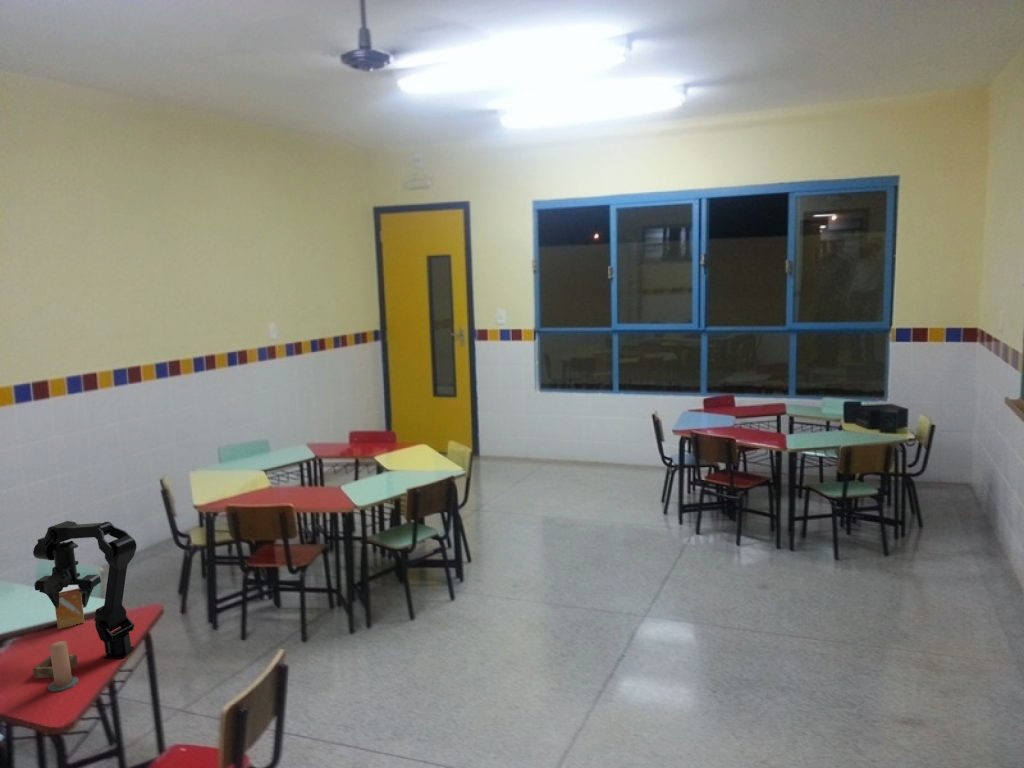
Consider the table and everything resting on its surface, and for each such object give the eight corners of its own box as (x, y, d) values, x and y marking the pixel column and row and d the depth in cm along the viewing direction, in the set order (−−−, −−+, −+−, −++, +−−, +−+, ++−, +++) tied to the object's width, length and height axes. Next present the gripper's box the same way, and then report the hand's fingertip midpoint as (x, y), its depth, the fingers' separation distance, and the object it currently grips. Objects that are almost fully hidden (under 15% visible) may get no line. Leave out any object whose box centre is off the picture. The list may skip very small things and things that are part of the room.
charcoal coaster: (83, 677, 225) (83, 676, 225) (68, 691, 217) (67, 690, 217) (59, 677, 225) (59, 676, 225) (42, 691, 218) (42, 690, 218)
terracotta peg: (72, 677, 224) (66, 639, 222) (72, 683, 220) (67, 645, 219) (54, 682, 222) (49, 643, 220) (54, 688, 218) (49, 649, 217)
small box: (58, 630, 257) (53, 593, 255) (57, 623, 262) (52, 587, 261) (85, 623, 262) (80, 587, 260) (83, 616, 267) (79, 581, 265)
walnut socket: (77, 663, 233) (76, 654, 233) (60, 677, 225) (59, 668, 225) (52, 664, 234) (50, 654, 233) (34, 678, 226) (33, 668, 225)
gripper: (19, 571, 234) (26, 619, 236) (77, 570, 233) (83, 618, 235) (43, 558, 245) (49, 603, 247) (98, 557, 244) (104, 602, 246)
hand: (71, 607), depth 244 cm, fingers open, 9 cm apart
